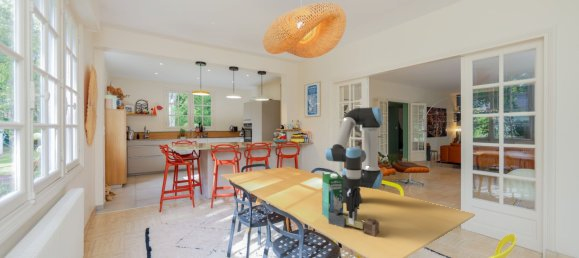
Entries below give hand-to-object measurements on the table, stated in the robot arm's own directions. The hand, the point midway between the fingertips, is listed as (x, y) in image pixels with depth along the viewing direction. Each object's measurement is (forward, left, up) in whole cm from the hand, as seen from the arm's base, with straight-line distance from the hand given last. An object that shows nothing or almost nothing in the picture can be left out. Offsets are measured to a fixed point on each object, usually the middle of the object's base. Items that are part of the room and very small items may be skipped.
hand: (353, 222), depth 123 cm
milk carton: (-7, -15, -3) cm, 17 cm away
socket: (0, +10, -3) cm, 10 cm away
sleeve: (0, -8, -3) cm, 8 cm away
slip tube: (0, -3, -1) cm, 3 cm away
